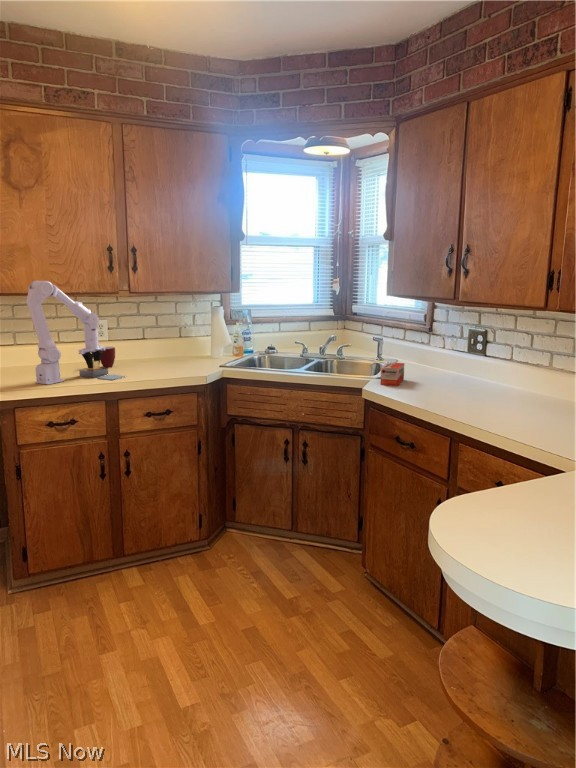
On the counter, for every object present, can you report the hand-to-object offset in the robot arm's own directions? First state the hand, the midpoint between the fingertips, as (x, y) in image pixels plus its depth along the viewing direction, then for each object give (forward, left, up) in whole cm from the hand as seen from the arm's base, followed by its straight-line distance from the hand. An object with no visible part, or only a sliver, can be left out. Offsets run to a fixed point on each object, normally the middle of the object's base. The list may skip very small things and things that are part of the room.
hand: (93, 367), depth 256 cm
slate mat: (0, -11, -4) cm, 12 cm away
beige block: (0, 0, -4) cm, 4 cm away
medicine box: (+48, -129, -4) cm, 138 cm away
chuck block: (0, 0, -4) cm, 4 cm away
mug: (+21, +11, -4) cm, 24 cm away
